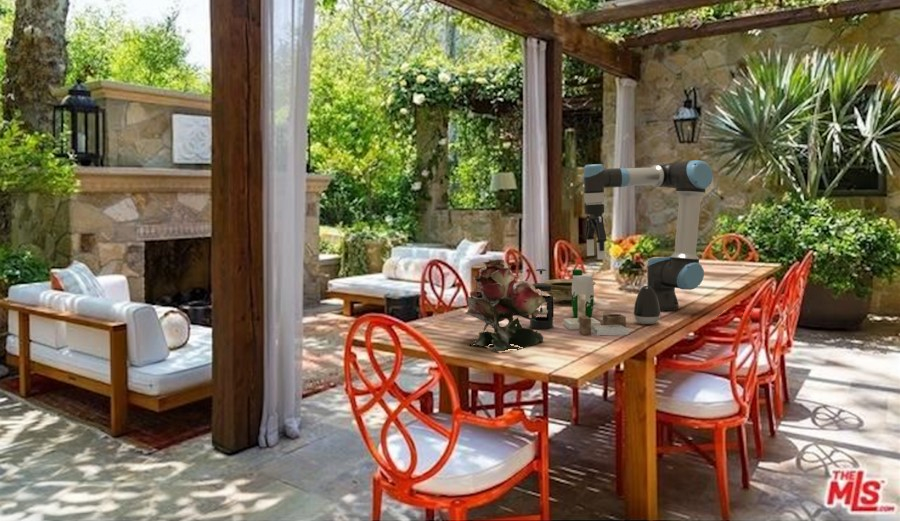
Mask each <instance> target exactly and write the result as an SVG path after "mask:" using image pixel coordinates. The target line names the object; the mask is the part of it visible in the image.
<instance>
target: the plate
mask: <svg viewBox="0 0 900 521" xmlns="http://www.w3.org/2000/svg"><path fill="white" fill-rule="evenodd" d="M629 330H630V329H629V328H627V326H626V327H624V326H622V325H603V324H602V325H601V324H600V325H597V326H591V333H592V332H593V333H594V334H593V333H592V334H593V335H595V336H596V335H597V336H596V337H601V336H600V335H609V336H627V335H628V334H630V331H629Z"/></svg>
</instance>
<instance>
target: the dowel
mask: <svg viewBox="0 0 900 521" xmlns="http://www.w3.org/2000/svg"><path fill="white" fill-rule="evenodd" d="M581 316H585V295H578V323H579V317H581Z"/></svg>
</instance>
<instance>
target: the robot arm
mask: <svg viewBox="0 0 900 521" xmlns="http://www.w3.org/2000/svg"><path fill="white" fill-rule="evenodd" d="M713 178H714V177H713V171H712V168H711V166H710V165H709V164H708V163H707V162H706V161H703V160H698V159H697V160H696V159H695V160H694V159H693V160H681V161H674V162H673V161H672V162H667V163H662V164H654V165H652V166H651V167H634V168H633V167H632V168H631V167H629V168H628V167H627V168H625V167H618V168H616V167H615V168H604V165H603V164H601V163H598V164H596V163H595V164H586V165H584V167H583V174H582V177H581V180H582V181H581V182H582V184H583V185H584V186H583V188H584V189H583V191H584V194H583V196H584V199H583V200H584V201H583V202H584V204H585V205H584V214H585V215H586V223H585V224H586V225H585V232H584V237H585V239H586V256H587V257H589V256H595V243H596V251H597V252H596V253H597V255H596V257H597V260H606V252H605V251H606V250H605V249H606V248H605V243H606V242H607V234H606V228H605V223H604V216H601V214H604V213H605V204H604V203H605V197H606V195H605V191H604V190H605V189H608V188H609V189H610V188H623V187H624V188H625V187H639V186H652V187H654V188H669V189H676V190H675V193H676V194H677V196H678V197H679V198H678V209H677V220H676V221H677V222H676V232H675V233H676V234H675V243H674V252H673V253H672V254H671V255H670V256H662V257H660V256H659V257H650V258H648V260H647V266H646V270H647V271H646V272H647V275H646V276H647V278H646V280H647V282H646V283H647V284H646V286H651V287H652V288H653V289H654V291H655V293H656V295H657V298H658V302H659V306H660V312H666V311H665V310H674V309H678V308H680V307H679V306H680V305H679V304H680V303H679V301H678V298H677V295H676V289H680V290H682V291H683V290H684V291H685V290H688V291H690V290H694V289H697V288H698V287H699V286H700V285H701V284H702V282H703V279H704V277H705V271H704V268H703V266H702V265H701V264H700V258H699V256H698V255H697V245H698V244H697V243H698V234H699V233H698V232H699V225H700V224H699V222H700V213H701V212H700V210H701V200H702V196H704V195H705V194H706V189H707V188H708V187H710V185H711V184H712V182H713ZM595 235H596V239H597V240H596V242H595V237H594V236H595ZM675 288H676V289H675ZM678 310H679V309H678ZM674 311H675V310H674Z"/></svg>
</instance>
